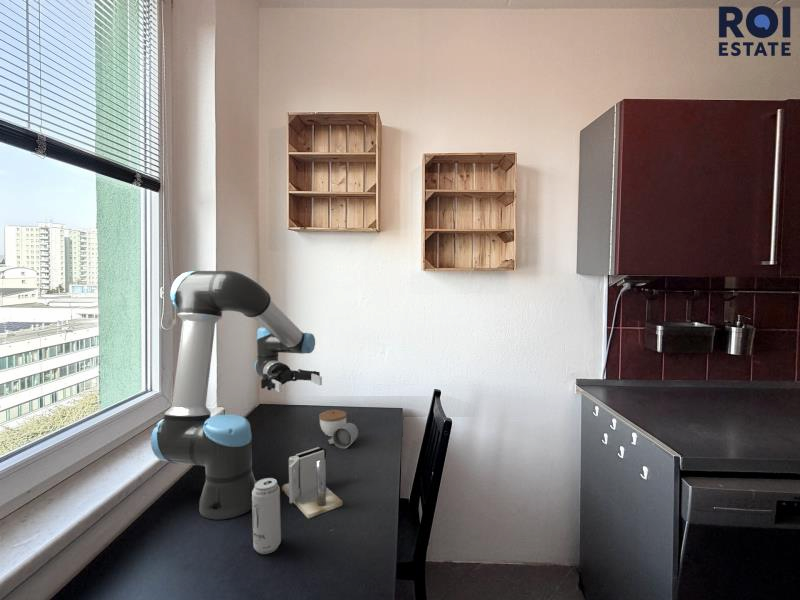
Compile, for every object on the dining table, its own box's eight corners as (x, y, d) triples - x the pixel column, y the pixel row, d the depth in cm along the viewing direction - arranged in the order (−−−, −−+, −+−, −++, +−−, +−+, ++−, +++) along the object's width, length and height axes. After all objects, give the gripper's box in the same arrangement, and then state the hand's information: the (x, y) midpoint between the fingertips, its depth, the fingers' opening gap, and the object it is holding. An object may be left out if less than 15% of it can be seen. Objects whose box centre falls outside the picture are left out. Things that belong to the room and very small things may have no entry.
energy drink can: (248, 546, 93) (247, 483, 92) (273, 535, 97) (271, 474, 96) (260, 559, 89) (259, 493, 88) (285, 546, 93) (284, 483, 92)
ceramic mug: (359, 440, 153) (359, 420, 153) (352, 449, 145) (351, 428, 145) (333, 438, 156) (332, 419, 155) (324, 447, 148) (323, 426, 147)
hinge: (291, 504, 108) (290, 467, 108) (278, 498, 111) (277, 462, 111) (328, 482, 120) (328, 448, 119) (316, 477, 123) (315, 444, 122)
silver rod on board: (307, 511, 105) (306, 466, 104) (283, 485, 118) (282, 445, 118) (338, 500, 110) (338, 457, 110) (312, 476, 124) (311, 437, 123)
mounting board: (308, 518, 104) (308, 514, 104) (282, 489, 118) (282, 486, 118) (342, 505, 110) (342, 501, 110) (314, 479, 124) (314, 476, 124)
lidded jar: (317, 430, 164) (317, 407, 163) (343, 426, 168) (343, 404, 167) (322, 440, 154) (321, 415, 153) (349, 436, 158) (349, 412, 157)
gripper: (309, 378, 154) (336, 389, 137) (241, 388, 139) (262, 403, 122) (309, 358, 153) (336, 367, 136) (241, 366, 138) (261, 378, 121)
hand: (301, 384), depth 129 cm, fingers open, 13 cm apart
